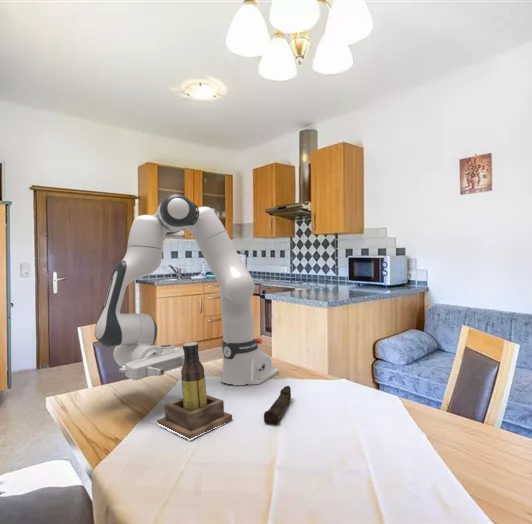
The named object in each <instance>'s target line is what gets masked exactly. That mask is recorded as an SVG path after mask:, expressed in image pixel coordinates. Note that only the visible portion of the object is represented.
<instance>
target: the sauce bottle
mask: <svg viewBox="0 0 532 524" xmlns="http://www.w3.org/2000/svg"><path fill="white" fill-rule="evenodd" d="M182 348H183V350H184V357H185V358H184V360H185V361H184V362H185V363H184V365H183V366H182V367H181V371H180V372H181V374H180V375H181V377H180V378H181V389H182V390H181V392H182V398H183V406H184V409H186V410H189V411H194V410H196V409H198V408H201V407H203V406H205V405H207V396H206V395H207V388H206V386H207V385H206V376H205V368H204V365H203V363H202V362H201V361H200V356H199V343H198V342H196V341H192V342H191V341H190V342H186V343H183V344H182Z"/></svg>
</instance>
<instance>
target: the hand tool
mask: <svg viewBox="0 0 532 524" xmlns="http://www.w3.org/2000/svg"><path fill="white" fill-rule="evenodd" d="M291 398H292V390H291V386H289V385H285V386H283V388H282V389H281V390H280V392H279V395H278V398H276V399H275V401H274V402H273V403H272V405H271V406H270V408H269V409H268V410H266V411H265V412H264V413H263V421H264V423H265V424H266V425H269V426H277V425H278V423H279V421H280V417H281V416H282V415H283V413H284V412H285V410H286V408H287V406H290V404H291V402H292V401H291Z"/></svg>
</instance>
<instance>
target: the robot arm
mask: <svg viewBox="0 0 532 524" xmlns="http://www.w3.org/2000/svg"><path fill="white" fill-rule="evenodd" d="M184 229H185V230H187V231H189V232H190V233H191V235H192V236H193V237H194V240H195V242H196V244H197V246H198V248H199V250H200V252H201V254H202V256H203V258H204V260H205V261H206V264H207V266H208V268H209V269H210V270H211V272H212V274H213V277H214V278H215V279H216V280H215V281H217V284H218V286H219V287H218V288H219V299H220V310H221V319H222V323H221V324H222V338H223V339H222V342H221V343H222V345H221V346H222V354H223V355H222V357H223V358H222V367H221V376H220V379H221V381H222V382H224V383H227V384H226V385H228V384H233V385H232V386H247V385H246V384H248V385H261V384H262V383H264V382H266V381H267V380H269V379H270V378H272V377H273V376H275V375H276V374H278V373H279V372H280V370H279V369H278V368H277V367H275V366H273V363H272V358H271V356H270V355H269V354H267V353H266V352H264V351H263V350H262V349H260V348H259V346H258V345H262V344H263V339H262V338H259V337H257V338H255V333H254V332H255V328H254V327H255V326H254V314H253V310H252V304H251V303H252V302H251V298H252V297H253V295H254V293H255V288H256V285H255V281H254V279H253V277H252V276H251V274H250V272H249V270H248V268H247V267H246V265H245V264H244V261H243V260H242V259H241V256H240V255H239V253H238V252H237V249H236V248H235V246H234V244H233V242H232V240H231V239H230V236H229V234H228V231H227V230H226V229H225V226H224V224H223V222H222V221H221V220H220V218H219V216H218V215H217V213H215V212H214V210H213V209H212V208H211V207H209V206H200V207H199V206H198V205H196V204H195V203H194V202H193V201H191V200H190V199H189V198H188V197H187V196H185V195H183V194H179V193H175V194H174V193H173V194H170V195H167V196H166V197H165V198H163V200H162V201H161V203H160V204H159V205H158V208H157V210H156V212H155V213H154V214H141V215H138V216H136V217H135V218H134V219H133V221H132V224H131V226H130V231H129V235H128V240H127V249H126V252H125V254H124V257H123V259H122V260H121V261H119V262H117V263H116V265H115V266H114V268H113V270H112V272H111V273H112V274H111V277H110V280H109V283H108V287H107V291H106V294H105V296H104V297H105V298H104V301H103V305H102V309H101V311H100V314H99V316H98V319H97V321H96V323H95V326H94V337H95V339H96V340H97V341H98V342H99V344H101V345H102V346H103V347H105V348H112V347H114V349H113V352H112V353H113V359H114V361H115V363H116V364H117V365H118V366H119V367H120V368H119V370H118V371H119V372H120V373H122V374H123V373H125V376H126V377H127V378H128V379H130V380H133V381H139V380H143V379H146V378H149V377H153V376H157V377H161V376H164V374H165V372H168V371H172V370H174V369H179V368H182V367H183V365H184V363H185V362H184V361H185V360H184V358H185V357H184V350H183V347H176V346H175V344H164V345H155V344H156V341H157V337H158V326H157V325H158V324H157V321H156V320H155V318H154V317H153V316H152V315H150V314H149V313H121V308H122V304H123V302H124V301H123V300H124V297H125V293H126V289H127V287H128V286H129V284H130V283H132V282H134V281H135V280H137V279H140V278H144V277H148V276H149V275H152V274H153V273H155V272H156V271H157V270H158V269H159V268H160V266H161V264H162V260H163V249H164V240H165V236H166V235H167V236H168V235H172V234H174V235H175V234H176V233H180V232H181V231H182V230H184ZM221 381H220V382H221ZM222 382H221V383H222ZM224 383H223V384H224Z"/></svg>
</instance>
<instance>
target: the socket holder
mask: <svg viewBox="0 0 532 524" xmlns="http://www.w3.org/2000/svg"><path fill="white" fill-rule="evenodd" d="M206 396H207V405H205V406H203V407H201V408H198V409H196V410H194V411H189V410H186V409H184V406H183V397H181V398H178V399H176V400H173V401H170V402H169V403H166V404H164V417H162V418H160V419H157V423H159V424H161V425H163V426H165V427H167V428H169V429H171V430H173V431H175V432H177V433H179V434H181V435H183V436H185V437H187V438H189V439H191V438H193V437H195V436H198V435H200V434H202V433H204V432H207V431H209V430H211V429H213V428H215V427H218V426H220V425H222V424H224V423H226V422H228V423H230V422H232V421H233V414H231V413H228V412H225V404H224V403H225V402H224V400H223V399H220V398H216V397H213V396H211V395H208V394H206ZM231 420H232V421H231ZM229 421H230V422H229ZM157 423H156V424H157ZM226 424H227V423H226ZM224 425H225V424H224ZM222 426H223V425H222ZM220 427H221V426H220ZM218 428H219V427H218Z"/></svg>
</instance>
